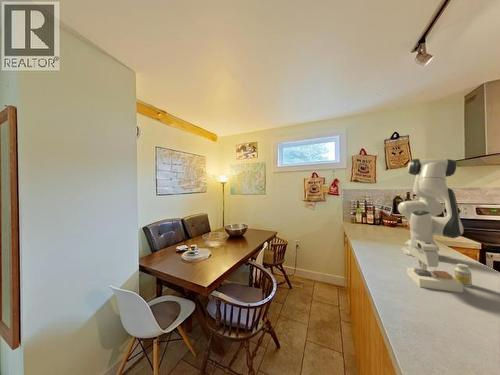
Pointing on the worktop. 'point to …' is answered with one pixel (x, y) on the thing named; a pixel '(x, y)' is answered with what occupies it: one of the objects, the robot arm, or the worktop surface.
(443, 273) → the terracotta key
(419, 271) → the charcoal key
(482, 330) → the worktop surface
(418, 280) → the console
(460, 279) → the supplement bottle
